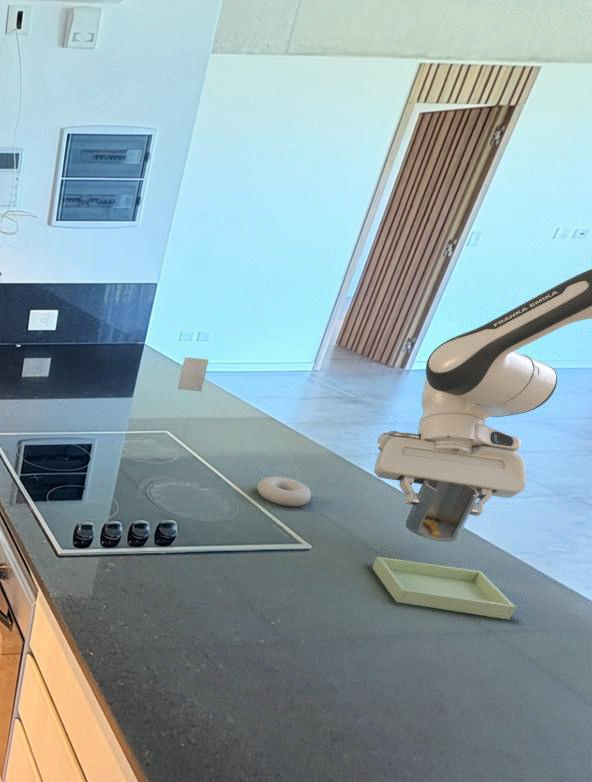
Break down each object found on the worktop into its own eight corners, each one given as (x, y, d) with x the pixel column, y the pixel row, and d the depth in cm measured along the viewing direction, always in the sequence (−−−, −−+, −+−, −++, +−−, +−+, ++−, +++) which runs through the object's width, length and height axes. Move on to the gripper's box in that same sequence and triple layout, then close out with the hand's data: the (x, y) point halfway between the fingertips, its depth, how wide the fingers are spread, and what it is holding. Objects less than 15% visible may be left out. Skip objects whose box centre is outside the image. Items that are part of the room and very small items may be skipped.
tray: (474, 582, 107) (480, 570, 105) (509, 619, 98) (516, 607, 97) (371, 567, 111) (377, 556, 109) (396, 602, 102) (402, 589, 101)
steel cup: (401, 517, 116) (420, 474, 112) (450, 526, 113) (471, 482, 109) (410, 535, 110) (430, 491, 106) (462, 545, 107) (484, 500, 103)
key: (420, 520, 114) (421, 518, 113) (435, 523, 113) (437, 520, 112) (427, 533, 110) (429, 530, 109) (443, 536, 109) (444, 533, 108)
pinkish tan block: (201, 391, 198) (208, 361, 193) (178, 388, 200) (185, 358, 196) (200, 388, 201) (208, 358, 196) (178, 385, 203) (185, 356, 199)
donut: (315, 499, 134) (266, 482, 140) (320, 485, 132) (270, 469, 139) (298, 514, 128) (247, 496, 135) (303, 500, 126) (252, 482, 133)
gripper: (386, 422, 114) (377, 490, 110) (533, 441, 105) (529, 516, 102) (373, 436, 119) (364, 501, 116) (512, 455, 111) (507, 526, 107)
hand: (442, 508), depth 109 cm, fingers closed on steel cup, 7 cm apart
